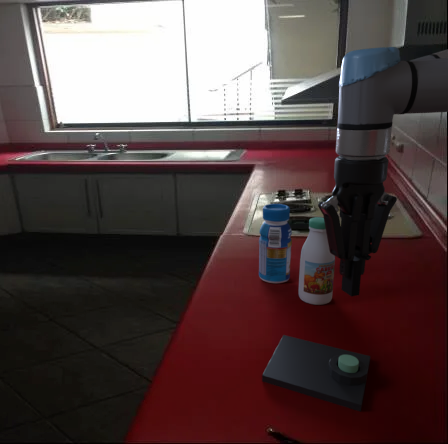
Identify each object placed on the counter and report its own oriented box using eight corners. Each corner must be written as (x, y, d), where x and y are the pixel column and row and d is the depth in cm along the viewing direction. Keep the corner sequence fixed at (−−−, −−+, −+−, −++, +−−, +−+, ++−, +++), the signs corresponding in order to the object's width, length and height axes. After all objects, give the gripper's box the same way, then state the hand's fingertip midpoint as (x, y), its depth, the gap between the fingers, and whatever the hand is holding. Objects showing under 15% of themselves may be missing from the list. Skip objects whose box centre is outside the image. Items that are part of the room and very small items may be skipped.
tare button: (359, 364, 73) (360, 357, 72) (356, 375, 70) (357, 367, 70) (339, 359, 75) (340, 352, 74) (336, 370, 72) (337, 362, 71)
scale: (370, 362, 77) (371, 348, 76) (361, 412, 66) (362, 396, 65) (283, 340, 85) (283, 327, 85) (261, 381, 74) (262, 367, 73)
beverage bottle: (251, 276, 114) (252, 206, 108) (273, 268, 119) (275, 200, 113) (274, 287, 108) (277, 213, 101) (297, 278, 112) (300, 207, 106)
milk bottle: (291, 297, 102) (295, 220, 96) (309, 287, 107) (313, 212, 101) (321, 309, 96) (326, 227, 90) (338, 297, 101) (344, 219, 95)
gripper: (380, 148, 69) (368, 277, 77) (310, 156, 67) (304, 289, 74) (416, 154, 62) (399, 296, 70) (339, 163, 60) (329, 309, 67)
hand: (350, 292), depth 72 cm, fingers closed
